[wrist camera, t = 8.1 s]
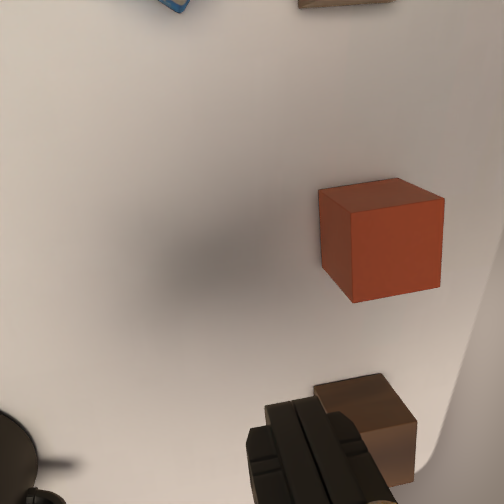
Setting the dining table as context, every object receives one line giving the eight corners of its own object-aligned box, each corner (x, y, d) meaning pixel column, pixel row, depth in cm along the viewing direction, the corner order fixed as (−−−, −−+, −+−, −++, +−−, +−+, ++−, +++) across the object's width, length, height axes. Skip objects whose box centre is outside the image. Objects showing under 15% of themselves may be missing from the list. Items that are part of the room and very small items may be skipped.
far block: (313, 385, 32) (339, 437, 28) (381, 372, 33) (417, 420, 29) (315, 442, 34) (340, 499, 30) (380, 428, 35) (414, 482, 30)
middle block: (317, 189, 27) (350, 213, 23) (398, 177, 28) (445, 198, 24) (321, 267, 29) (352, 304, 25) (397, 254, 30) (440, 287, 25)
